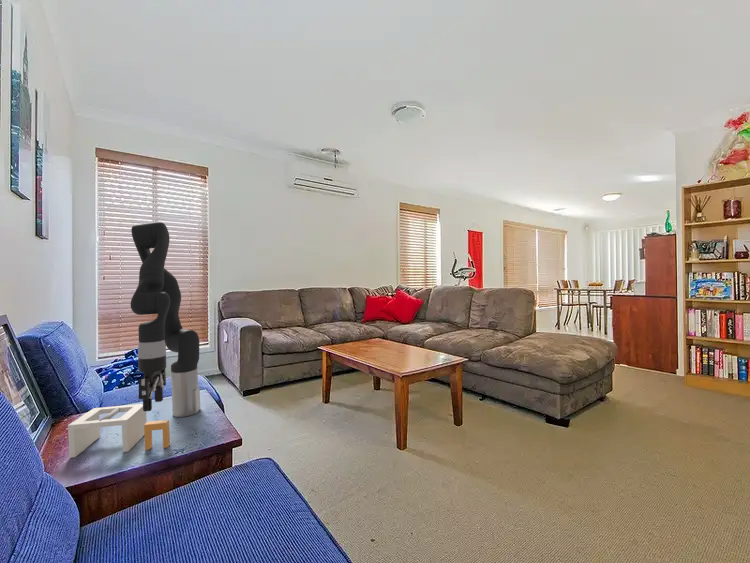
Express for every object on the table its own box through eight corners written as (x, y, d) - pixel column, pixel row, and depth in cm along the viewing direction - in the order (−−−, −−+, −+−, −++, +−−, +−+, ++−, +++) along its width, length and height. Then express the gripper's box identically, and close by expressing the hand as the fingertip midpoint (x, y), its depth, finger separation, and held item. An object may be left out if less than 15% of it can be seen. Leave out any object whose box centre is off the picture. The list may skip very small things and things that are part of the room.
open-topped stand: (147, 431, 127) (145, 403, 127) (128, 451, 113) (126, 419, 113) (95, 437, 124) (93, 408, 123) (69, 457, 110) (67, 425, 110)
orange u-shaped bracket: (170, 444, 118) (169, 419, 117) (167, 447, 115) (166, 422, 115) (148, 446, 116) (147, 421, 116) (145, 449, 114) (144, 424, 114)
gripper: (155, 359, 108) (157, 413, 109) (173, 349, 122) (174, 397, 123) (128, 360, 107) (129, 415, 107) (149, 351, 121) (150, 399, 121)
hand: (153, 405), depth 115 cm, fingers open, 8 cm apart
